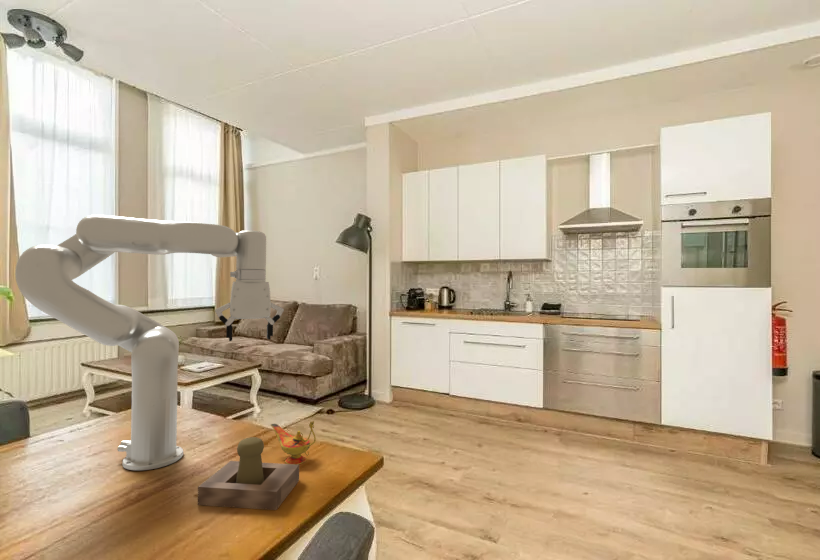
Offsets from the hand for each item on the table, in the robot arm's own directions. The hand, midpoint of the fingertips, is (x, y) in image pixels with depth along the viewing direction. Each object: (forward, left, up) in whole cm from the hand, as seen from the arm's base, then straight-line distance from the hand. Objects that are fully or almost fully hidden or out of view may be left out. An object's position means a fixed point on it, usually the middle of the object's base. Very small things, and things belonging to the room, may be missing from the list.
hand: (249, 339), depth 111 cm
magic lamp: (+15, -7, -28) cm, 33 cm away
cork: (+13, -24, -28) cm, 39 cm away
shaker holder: (+13, -24, -28) cm, 39 cm away
